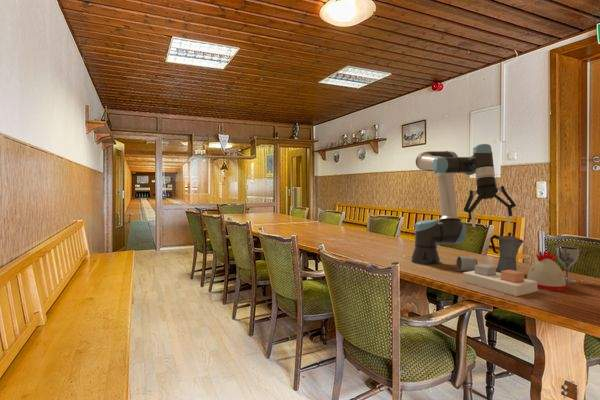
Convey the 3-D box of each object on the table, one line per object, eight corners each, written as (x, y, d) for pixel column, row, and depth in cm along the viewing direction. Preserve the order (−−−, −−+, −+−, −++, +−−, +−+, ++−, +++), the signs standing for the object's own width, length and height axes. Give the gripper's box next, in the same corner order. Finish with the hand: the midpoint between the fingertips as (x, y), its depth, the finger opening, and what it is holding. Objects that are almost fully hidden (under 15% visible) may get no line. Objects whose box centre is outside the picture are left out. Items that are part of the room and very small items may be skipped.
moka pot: (519, 277, 166) (520, 234, 165) (485, 271, 177) (486, 231, 177) (526, 273, 172) (527, 233, 171) (492, 268, 184) (493, 230, 183)
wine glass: (557, 277, 166) (558, 245, 165) (579, 280, 160) (580, 247, 159) (554, 280, 160) (555, 247, 159) (576, 284, 154) (577, 249, 154)
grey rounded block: (474, 273, 158) (474, 265, 157) (483, 271, 160) (483, 263, 160) (487, 276, 152) (487, 268, 152) (495, 274, 155) (496, 266, 155)
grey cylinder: (478, 273, 174) (478, 257, 174) (461, 272, 174) (461, 257, 174) (469, 268, 184) (469, 253, 184) (453, 268, 185) (453, 253, 185)
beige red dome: (519, 281, 159) (520, 248, 159) (551, 281, 159) (552, 248, 158) (539, 290, 145) (540, 254, 145) (574, 290, 145) (575, 254, 144)
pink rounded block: (500, 279, 147) (500, 271, 147) (509, 277, 150) (509, 269, 150) (515, 282, 142) (515, 274, 142) (524, 281, 145) (524, 272, 144)
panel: (462, 281, 159) (462, 272, 158) (482, 277, 165) (482, 269, 165) (516, 296, 137) (516, 286, 137) (537, 291, 144) (537, 281, 144)
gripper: (453, 181, 162) (458, 226, 157) (516, 171, 147) (523, 221, 142) (458, 184, 168) (462, 229, 163) (519, 175, 153) (526, 223, 148)
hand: (491, 225), depth 153 cm, fingers open, 13 cm apart
